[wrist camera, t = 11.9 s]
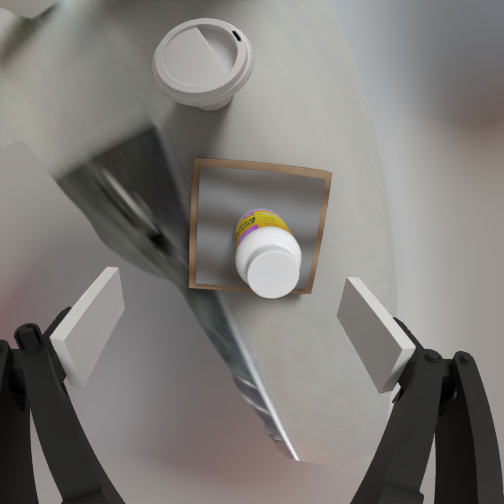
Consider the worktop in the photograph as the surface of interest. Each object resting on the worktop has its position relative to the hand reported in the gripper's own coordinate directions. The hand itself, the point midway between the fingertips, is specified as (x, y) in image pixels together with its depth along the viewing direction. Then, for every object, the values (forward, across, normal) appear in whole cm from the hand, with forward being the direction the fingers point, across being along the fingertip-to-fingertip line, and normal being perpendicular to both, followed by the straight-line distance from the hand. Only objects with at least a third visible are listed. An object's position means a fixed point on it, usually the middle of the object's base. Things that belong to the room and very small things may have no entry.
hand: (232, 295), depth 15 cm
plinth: (+25, +4, -3) cm, 25 cm away
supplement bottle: (+21, +4, -3) cm, 22 cm away
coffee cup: (+26, -4, +16) cm, 31 cm away
